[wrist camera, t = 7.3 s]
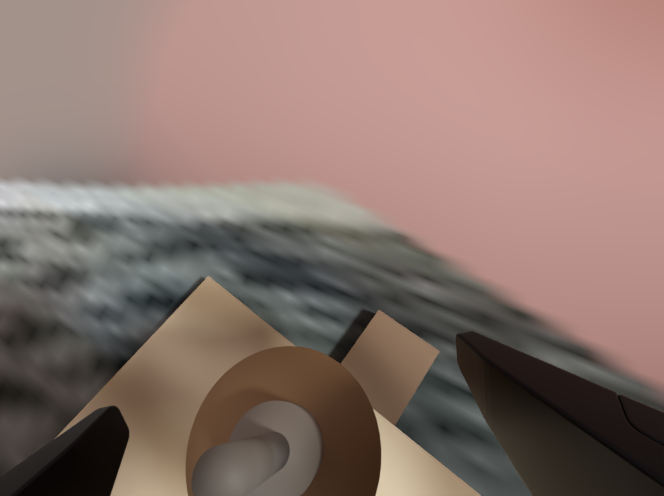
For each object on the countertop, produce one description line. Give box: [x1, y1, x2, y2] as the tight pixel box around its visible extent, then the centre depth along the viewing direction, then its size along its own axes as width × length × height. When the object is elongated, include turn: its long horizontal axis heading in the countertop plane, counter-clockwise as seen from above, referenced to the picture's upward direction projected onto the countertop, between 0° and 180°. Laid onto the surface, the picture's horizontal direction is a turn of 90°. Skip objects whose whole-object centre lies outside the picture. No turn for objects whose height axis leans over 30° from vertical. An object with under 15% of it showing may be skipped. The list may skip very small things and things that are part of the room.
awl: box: [186, 346, 381, 496], centre depth 9 cm, size 4×4×13 cm
